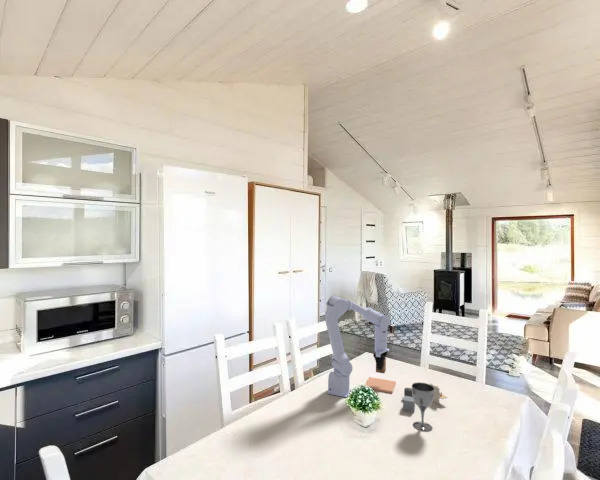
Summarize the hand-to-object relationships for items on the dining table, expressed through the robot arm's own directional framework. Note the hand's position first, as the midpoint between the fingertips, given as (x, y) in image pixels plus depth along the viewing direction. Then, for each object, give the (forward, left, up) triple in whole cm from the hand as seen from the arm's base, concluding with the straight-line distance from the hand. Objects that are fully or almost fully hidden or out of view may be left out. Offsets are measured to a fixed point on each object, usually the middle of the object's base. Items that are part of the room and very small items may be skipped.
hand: (380, 367), depth 166 cm
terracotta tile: (0, 0, -9) cm, 9 cm away
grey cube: (+15, -18, -9) cm, 25 cm away
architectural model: (+25, -6, -10) cm, 27 cm away
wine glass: (+21, -30, -9) cm, 38 cm away
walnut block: (0, 0, -2) cm, 2 cm away
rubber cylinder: (+14, -8, -9) cm, 18 cm away
